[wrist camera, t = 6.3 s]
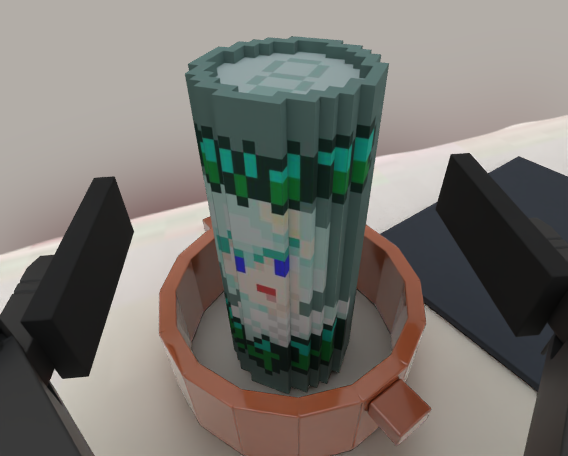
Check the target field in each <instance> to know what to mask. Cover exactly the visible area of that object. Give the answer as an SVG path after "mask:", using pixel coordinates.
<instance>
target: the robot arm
mask: <svg viewBox="0 0 568 456" xmlns="http://www.w3.org/2000/svg"><path fill="white" fill-rule="evenodd" d="M435 210H436V211H437V213H438V215H439V216H440V218H441V219H442V221H443V222H444V224H445V226H446V227H447V229H448V230H449V232H450V234H451V235H452V237H453V238H454V240H455V242H456V243H457V245H458V246H459V248H460V249H461V251H462V253H463V254H464V256H465V257H466V259H467V261H468V262H469V264H470V265H471V267H472V269H473V270H474V272H475V273H476V275H477V276H478V278H479V280H480V281H481V283H482V284H483V286H484V288H485V289H486V291H487V292H488V294H489V296H490V297H491V299H492V300H493V302H494V303H495V305H496V307H497V308H498V310H499V311H500V313H501V315H502V316H503V318H504V319H505V321H506V323H507V324H508V326H509V327H510V329H511V330H512V332H513V334H514V335H515V337H523V336H534V335H540V333H541V331H542V330H543V328H544V327H545V325H546V324H547V323H548V324H549V326H550V327H551V329H552V330H553V331H554V334H553V336H552V337H551V338H550V340H549V341H548V343H547V344H546V345H545V347H544V348H543V350H542V351H541V353H540V354H542V355H545V353H546V352H547V355H546V359H545V363H544V368H543V372H542V377H541V381H540V385H539V390H538V394H537V399H536V403H535V407H534V412H533V416H532V421H531V425H530V429H529V434H528V438H527V443H526V447H525V451H524V456H568V244H567V242H566V241H565V240H564V239H561V236H560V235H559V234H558V233H557V232H556V231H555V230H554V229H553V228H552V227H551V226H550V225H548V224H546V223H545V222H543V221H542V220H540V219H538V218H528V217H527V216H526V215H525V214H524V213H523V212H522V211H521V210H520V208H519V207H518V206H517V205H516V204H515V203H514V202H513V201H512V200H511V199H510V197H509V196H508V195H507V194H506V193H505V192H504V191H503V190H502V189H501V187H500V186H499V185H498V184H497V183H496V182H495V181H494V180H493V179H492V177H491V176H490V175H489V174H488V173H487V172H486V171H485V170H484V169H483V167H482V166H481V165H480V164H479V163H478V162H477V161H476V160H475V159H474V157H473V156H472V155H471V154H470V153H464V154H451V156H450V159H449V163H448V166H447V170H446V173H445V177H444V180H443V184H442V188H441V191H440V195H439V198H438V202H437V205H436V209H435ZM133 233H134V230H133V227H132V225H131V222H130V219H129V216H128V213H127V210H126V208H125V205H124V202H123V199H122V196H121V193H120V191H119V188H118V185H117V182H116V179H115V177H100V178H94V179H93V181H92V183H91V185H90V187H89V189H88V191H87V192H86V195H85V196H84V199H83V201H82V202H81V204H80V206H79V208H78V210H77V212H76V214H75V216H74V218H73V220H72V222H71V224H70V226H69V227H68V230H67V231H66V233H65V235H64V237H63V239H62V241H61V243H60V245H59V247H58V249H57V251H56V253H55V255H47V256H40V257H39V258H37V259H36V260H35V261H34V262H33V263H32V264H31V265H30V266H29V267H28V268H27V269H26V271H25V273H24V274H23V276H22V278H21V280H20V283H18V285H17V287H16V288H15V290H14V294H12V295H11V297H10V299H9V301H8V302H7V304H6V306H5V308H4V309H3V311H2V313H1V315H0V456H94V454H93V452H92V451H91V449H90V447H89V446H88V444H87V442H86V441H85V439H84V437H83V435H82V434H81V432H80V430H79V429H78V427H77V425H76V424H75V422H74V420H73V419H72V417H71V415H70V413H69V412H68V410H67V408H66V407H65V405H64V403H63V402H62V400H61V398H60V397H59V395H58V393H57V391H56V390H55V388H54V386H53V385H52V384H51V382H50V379H51V376H52V374H53V371H54V369H55V370H56V371H57V372H58V374H59V375H60V376H61V378H62V379H65V378H76V377H87V376H89V374H90V371H91V368H92V364H93V361H94V358H95V355H96V352H97V348H98V345H99V342H100V339H101V336H102V332H103V329H104V326H105V323H106V320H107V316H108V313H109V310H110V307H111V304H112V300H113V297H114V294H115V291H116V288H117V284H118V281H119V278H120V275H121V272H122V268H123V265H124V262H125V259H126V256H127V252H128V249H129V246H130V243H131V240H132V236H133Z"/></svg>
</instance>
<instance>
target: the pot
mask: <svg viewBox="0 0 568 456" xmlns="http://www.w3.org/2000/svg"><path fill="white" fill-rule="evenodd" d="M203 224H204V229H205V231H206V232H205V233H204V234H203V235H202V236H200V237H199V238H198V239H197V240H196V241H195V242H193V243H192V244H191V245H190V246H189V247H188V248H186V249H185V250H184V251H183V252H182V253H181V254H180V255H179V256H178V257H177V259H176V261H175V263H174V265H173V267H172V269H171V271H170V272H169V274H168V276H167V278H166V280H165V282H164V284H163V286H162V288H161V290H160V293H159V336H160V338H161V341H162V343H163V346H164V349H165V351H166V354H167V357H168V359H169V362H170V364H171V367H172V370H173V372H174V375H175V377H176V380H177V383H178V385H179V387H180V389H181V391H182V393H183V395H184V396H185V398H186V400H187V402H188V404H189V406H190V408H191V409H192V411H193V413H194V415H195V417H196V419H197V420H198V422H199V424H200V425H201V426H202V427H203V428H205V429H206V430H208V431H209V432H211V433H212V434H213V435H215V436H216V437H218V438H219V439H221V440H222V441H224V442H225V443H226V444H228V445H229V446H231V447H232V448H234V449H235V450H236V451H238V452H239V453H241V454H243V455H246V456H331V455H335V454H339V453H342V452H346V451H350V450H352V449H354V448H355V447H357V446H358V445H359V444H360V443H361V442H362V441H364V440H365V439H366V438H367V437H368V436H369V435H371V434H372V433H373V432H374V431H375V430H376V429H378V428H379V427H380V428H381V429H382V430H383V432H384V433H385V434H386V435H387V436H388V437H389V438H390V439H391V441H392V442H393V443H394V444H395V445H396V446H397V445H399V444H401V443H402V442H403V441H404V440H405V439H406V438H407V437H408V436H409V435H410V434H411V433H412V432H414V431H415V430H416V429H417V428H418V427H419V426H420V425H421V424H422V423H423V422H424V421H426V420H427V418H428V416H429V414H430V411H431V408H430V406H429V405H428V404H426V403H425V402H424V401H423V400H422V399H421V398H420V397H419V396H418V395H417V394H416V393H415V392H414V391H413V390H412V389H411V388H410V387H409V386H408V385H407V384H406V383H405V382H406V380H407V377H408V375H409V372H410V369H411V366H412V363H413V360H414V357H415V354H416V352H417V349H418V346H419V343H420V340H421V337H422V334H423V331H424V328H425V325H426V317H425V310H424V302H423V295H422V287H421V282H420V279H419V277H418V276H417V274H416V273H415V272H414V270H413V269H412V267H411V266H410V264H409V263H408V261H407V260H406V258H405V257H404V255H403V254H402V252H401V251H400V249H399V248H398V247H397V246H396V245H394V244H393V243H391V242H390V241H389V240H387V239H386V238H384V237H383V236H382V235H380V234H379V233H377V232H376V231H374V230H373V229H372V228H370V227H369V226H367V225H366V226H365V233H364V240H363V247H362V254H361V261H360V267H359V274H358V281H357V289H358V290H359V291H360V292H361V293H362V294H364V295H365V296H366V297H367V298H368V299H369V300H370V301H372V302H373V303H374V304H375V305H376V307H377V309H378V311H379V313H380V315H381V317H382V318H383V320H384V322H385V324H386V326H387V328H388V330H389V332H390V334H391V346H392V353H391V355H390V356H389V357H387V358H386V359H385V360H383V361H382V362H381V363H379V364H378V365H377V366H376V367H374V368H373V369H372V370H370V371H369V372H368V373H366V374H365V375H364V376H362V377H361V378H360V379H358V380H357V381H356V382H355V383H353V384H352V385H348V386H344V387H340V388H336V389H332V390H328V391H324V392H319V393H315V394H311V395H307V396H303V397H299V398H298V397H291V396H284V395H277V394H271V393H264V392H257V391H250V390H243V389H240V388H239V387H237V386H235V385H234V384H232V383H231V382H229V381H227V380H226V379H224V378H222V377H221V376H219V375H218V374H216V373H214V372H213V371H211V370H209V369H208V368H206V367H204V366H203V365H201V364H200V363H199V362H198V361H197V359H196V357H195V356H194V354H193V353H192V345H191V342H192V340H193V337H194V335H195V332H196V330H197V327H198V325H199V322H200V319H201V317H202V314H203V312H204V311H205V310H206V309H207V308H208V307H209V306H210V305H211V304H212V303H213V302H214V301H215V300H216V299H217V297H218V296H219V295H220V294H221V293H222V292H223V291H224V288H223V283H222V277H221V271H220V266H219V260H218V255H217V249H216V244H215V238H214V232H213V227H212V221H211V216H210V217H207V218H205V219H203Z"/></svg>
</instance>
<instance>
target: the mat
mask: <svg viewBox="0 0 568 456" xmlns="http://www.w3.org/2000/svg"><path fill="white" fill-rule="evenodd" d="M488 174H489V175H490V176H491V177H492V179H493V180H494V181H495V182H496V183H497V184H498V185H499V186H500V187H501V189H502V190H503V191H504V192H505V193H506V194H507V195H508V196H509V197H510V199H511V200H512V201H513V202H514V203H515V204H516V205H517V206H518V207H519V208H520V210H521V211H522V212H523V213H524V214H525V215H526V216H527V217H528V218H538V219H540V220H542V221H543V222H545V223H546V224H548V225H550V226H551V227H552V228H553V229H554V230H555V231H556V232H557V233H558V234H559V235H560V236H561V239H564V240H565V241H566V242H567V244H568V177H567V176H565V175H563V174H560V173H558V172H555V171H553V170H551V169H548V168H546V167H543V166H541V165H539V164H536V163H534V162H531V161H529V160H527V159H524V158H522V157H519V156H518V157H517V158H515V159H513V160H511V161H509V162H508V163H506V164H504V165H502V166H501V167H499V168H497V169H495V170H493V171H492V172H490V173H488ZM436 205H437V202H436V203H435V204H433V205H431V206H429V207H428V208H426V209H424V210H422V211H420V212H419V213H417V214H415V215H413V216H411V217H410V218H408V219H406V220H404V221H403V222H401V223H399V224H397V225H395V226H394V227H392V228H390V229H388V230H387V231H385V232H383V233H381V234H380V235H382V236H383V237H384V238H386V239H387V240H389V241H390V242H391V243H393V244H394V245H396V246H397V247H398V248H399V249H400V251H401V252H402V254H403V255H404V257H405V258H406V260H407V261H408V263H409V264H410V266H411V267H412V269H413V270H414V272H415V273H416V274H417V276H418V277H419V279H420V282H421V287H422V295H423V302H424V303H426V304H427V305H428V306H429V307H431V308H432V309H433V310H434V311H436V312H437V313H438V314H440V315H441V316H442V317H443V318H445V319H446V320H447V321H449V322H450V323H451V324H452V325H454V326H455V327H456V328H457V329H459V330H460V331H461V332H463V333H464V334H465V335H466V336H468V337H469V338H470V339H472V340H473V341H474V342H475V343H477V344H478V345H479V346H480V347H482V348H483V349H484V350H486V351H487V352H488V353H489V354H491V355H492V356H493V357H495V358H496V359H497V360H498V361H500V362H501V363H502V364H504V365H505V366H506V367H507V368H509V369H510V370H511V371H512V372H514V373H515V374H516V375H518V376H519V377H520V378H521V379H523V380H524V381H525V382H527V383H528V384H529V385H530V386H532V387H533V388H534V389H535V390H537V391H538V390H539V385H540V381H541V377H542V372H543V368H544V363H545V359H546V355H547V352H546V353H545V355H542V354H540V353H541V351H542V350H543V348H544V347H545V345H546V344H547V343H548V341H549V340H550V338H551V337H552V336H553V334H554V331H553V330H552V329H551V327H550V326H549V324H548V323H547V324H546V325H545V327H544V328H543V330H542V331H541V333H540V335H534V336H523V337H515V335H514V334H513V332H512V330H511V329H510V327H509V326H508V324H507V323H506V321H505V319H504V318H503V316H502V315H501V313H500V311H499V310H498V308H497V307H496V305H495V303H494V302H493V300H492V299H491V297H490V296H489V294H488V292H487V291H486V289H485V288H484V286H483V284H482V283H481V281H480V280H479V278H478V276H477V275H476V273H475V272H474V270H473V269H472V267H471V265H470V264H469V262H468V261H467V259H466V257H465V256H464V254H463V253H462V251H461V249H460V248H459V246H458V245H457V243H456V242H455V240H454V238H453V237H452V235H451V234H450V232H449V230H448V229H447V227H446V226H445V224H444V222H443V221H442V219H441V218H440V216H439V215H438V213H437V211H436V210H435V209H436Z"/></svg>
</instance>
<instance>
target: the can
mask: <svg viewBox="0 0 568 456" xmlns="http://www.w3.org/2000/svg"><path fill="white" fill-rule="evenodd" d="M362 47H363V46H360V45H349V44H343V41H341V40H328V39H317V38H305V37H293V36H292V37H290V38H288V39H280V38H266V39H264V40H255V39H254V40H252V41H250V42H237V43H235V44H234V45H232V46H231V47H229V48H228V47H217V48H215V49H214V50H212V51H210V52H208V53H206V54H205V55H203V56H201V57H199V58H198V59H196V60H194V61H192V62H191V63H189V64H188V67H189V71H188V72H187V73H185V77H186V82H187V88H188V93H189V99H190V104H191V110H192V116H193V121H194V127H195V132H196V138H197V143H198V149H199V155H200V160H201V166H202V171H203V177H204V182H205V187H206V194H207V199H208V205H209V210H210V216H211V221H212V227H213V232H214V238H215V244H216V249H217V255H218V260H219V266H220V271H221V277H222V283H223V288H224V294H225V299H226V305H227V310H228V316H229V321H230V327H231V333H232V338H233V344H234V349H235V351H236V352H237V356H238V360H240V363H241V369H244V370H247V371H250V372H251V377H252V381H255V382H258V383H260V384H263V385H266V386H268V387H271V388H274V389H276V390H279V391H282V392H284V393H287V394H289V392H290V389H291V387H293V388H296V389H299V390H301V391H304V392H307V390H308V387H309V385H310V386H313V387H315V388H317V386H318V383H319V381H321V382H323V383H326V384H327V382H328V379H329V376H330V373H331V370H333V371H336V372H338V373H339V371H340V368H341V364H342V361H343V358H344V355H345V352H346V349H347V346H348V342H349V337H350V330H351V323H352V316H353V309H354V302H355V295H356V288H357V281H358V274H359V267H360V261H361V254H362V247H363V240H364V233H365V226H366V219H367V212H368V205H369V198H370V191H371V184H372V177H373V170H374V164H375V157H376V149H377V142H378V136H379V128H380V122H381V115H382V108H383V101H384V94H385V87H386V80H387V73H388V66H389V63H380V59H381V55H380V54H371V50H366V49H362Z"/></svg>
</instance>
